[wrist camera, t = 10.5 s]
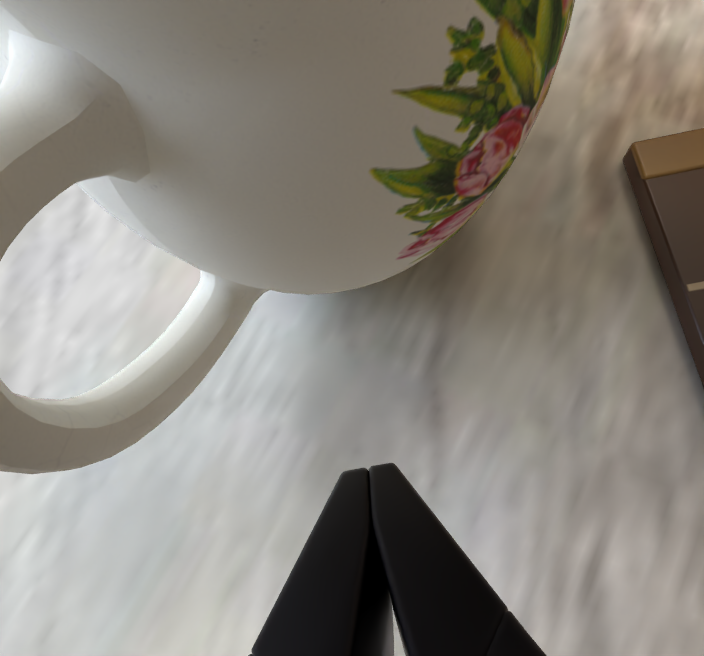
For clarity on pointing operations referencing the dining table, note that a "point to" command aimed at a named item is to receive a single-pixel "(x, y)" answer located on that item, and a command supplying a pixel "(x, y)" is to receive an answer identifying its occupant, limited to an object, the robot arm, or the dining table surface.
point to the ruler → (675, 221)
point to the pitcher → (254, 158)
